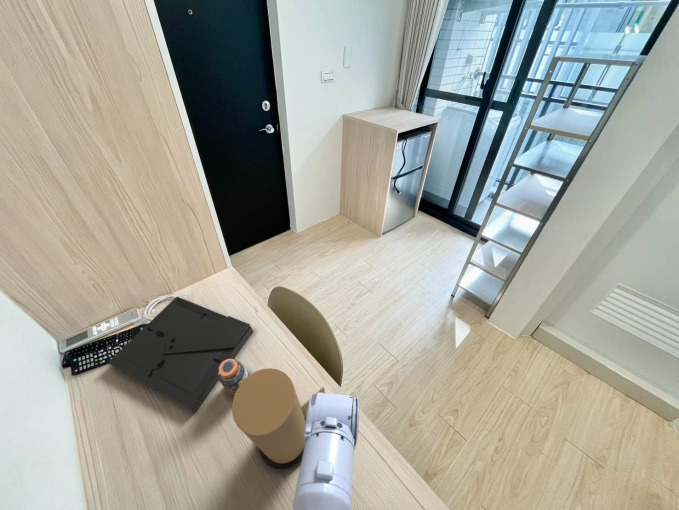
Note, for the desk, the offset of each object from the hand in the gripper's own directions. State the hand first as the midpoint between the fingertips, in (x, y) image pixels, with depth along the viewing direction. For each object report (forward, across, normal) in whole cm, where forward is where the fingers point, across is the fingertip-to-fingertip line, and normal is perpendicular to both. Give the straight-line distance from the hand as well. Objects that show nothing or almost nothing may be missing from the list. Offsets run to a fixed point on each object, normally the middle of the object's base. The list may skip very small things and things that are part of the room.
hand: (335, 454), depth 50 cm
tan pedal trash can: (+9, -6, -10) cm, 15 cm away
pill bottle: (+11, -12, -27) cm, 31 cm away
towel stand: (+10, -3, -12) cm, 16 cm away
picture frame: (+11, -19, -46) cm, 51 cm away
